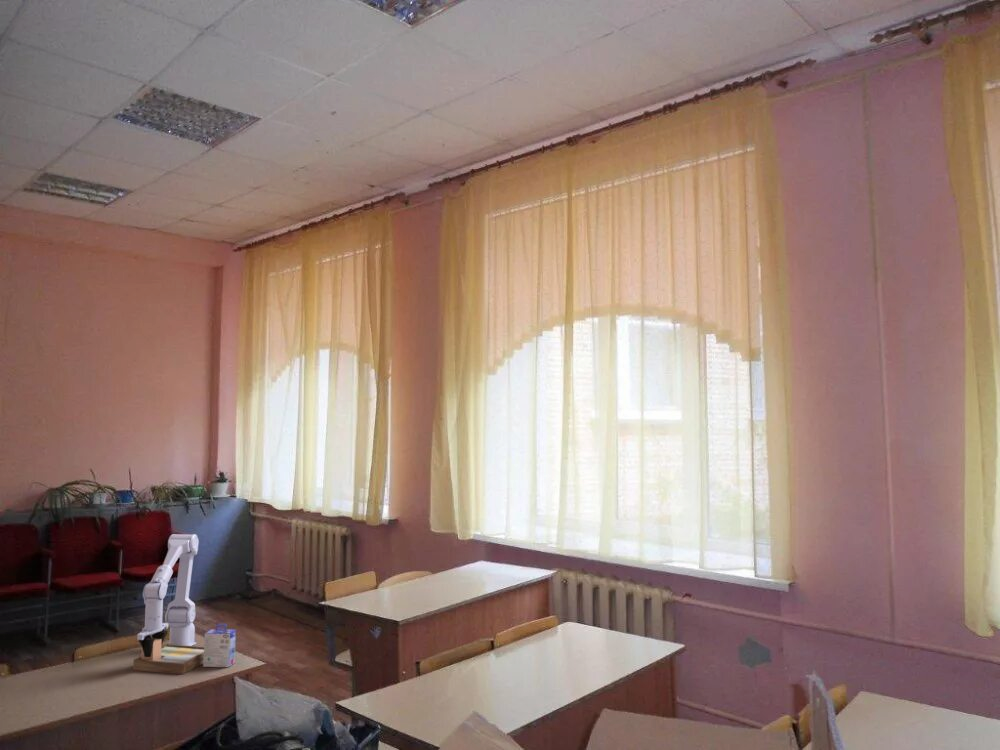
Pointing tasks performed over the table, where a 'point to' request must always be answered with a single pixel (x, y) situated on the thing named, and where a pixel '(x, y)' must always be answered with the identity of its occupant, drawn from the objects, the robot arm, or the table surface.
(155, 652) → the terracotta block
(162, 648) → the puzzle tray
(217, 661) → the ink cartridge box
